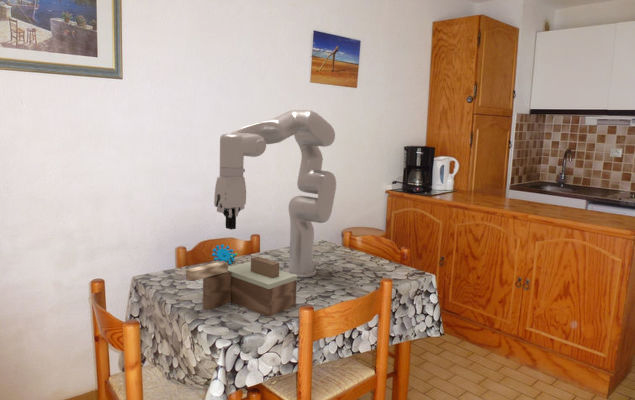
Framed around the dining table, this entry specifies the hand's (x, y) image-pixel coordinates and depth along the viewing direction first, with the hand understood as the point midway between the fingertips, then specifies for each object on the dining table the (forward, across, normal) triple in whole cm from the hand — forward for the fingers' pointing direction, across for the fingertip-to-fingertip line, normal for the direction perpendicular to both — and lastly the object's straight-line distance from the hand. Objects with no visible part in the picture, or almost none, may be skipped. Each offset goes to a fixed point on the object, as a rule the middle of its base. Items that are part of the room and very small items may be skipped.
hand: (230, 228), depth 155 cm
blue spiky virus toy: (+25, -27, -35) cm, 50 cm away
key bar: (+14, +9, 0) cm, 17 cm away
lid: (+16, -6, +7) cm, 19 cm away
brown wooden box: (+25, -2, +7) cm, 26 cm away
